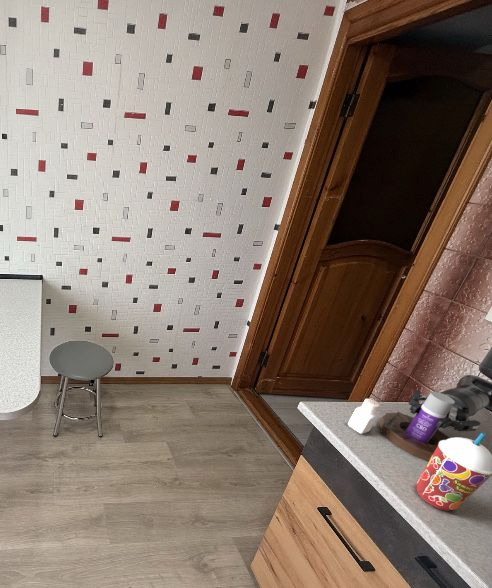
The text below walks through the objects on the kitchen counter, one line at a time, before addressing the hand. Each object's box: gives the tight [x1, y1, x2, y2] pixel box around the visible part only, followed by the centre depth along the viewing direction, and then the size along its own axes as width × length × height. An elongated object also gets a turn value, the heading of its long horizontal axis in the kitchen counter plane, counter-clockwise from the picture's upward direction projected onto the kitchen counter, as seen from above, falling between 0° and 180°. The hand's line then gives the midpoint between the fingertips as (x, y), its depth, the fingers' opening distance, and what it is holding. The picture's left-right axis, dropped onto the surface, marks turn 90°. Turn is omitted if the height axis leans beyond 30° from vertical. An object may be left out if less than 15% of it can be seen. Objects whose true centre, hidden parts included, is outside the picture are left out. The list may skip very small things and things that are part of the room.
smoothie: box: [416, 432, 492, 512], centre depth 71 cm, size 8×8×20 cm
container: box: [404, 391, 455, 444], centre depth 89 cm, size 5×5×15 cm
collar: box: [378, 411, 450, 462], centre depth 91 cm, size 15×15×2 cm
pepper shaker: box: [347, 398, 381, 435], centre depth 92 cm, size 4×4×10 cm
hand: (426, 417), depth 87 cm, fingers closed on container, 4 cm apart
